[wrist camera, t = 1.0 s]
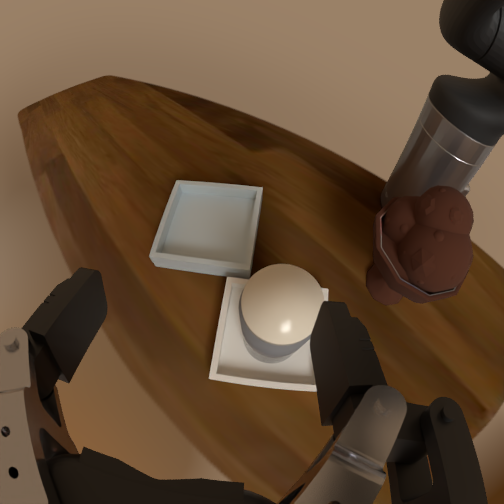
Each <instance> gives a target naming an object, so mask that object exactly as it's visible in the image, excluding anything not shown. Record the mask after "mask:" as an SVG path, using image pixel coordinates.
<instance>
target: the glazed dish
mask: <svg viewBox="0 0 504 504" xmlns="http://www.w3.org/2000/svg"><path fill="white" fill-rule="evenodd" d="M262 192H263V187H254V186H244V185H234V184H223V183H211V182H197V181H182V180H176V183H175V185H174V188H173V190H172V193H171V195H170V198H169V201H168V203H167V206H166V209H165V211H164V214H163V217H162V220H161V222H160V225H159V228H158V231H157V234H156V237H155V240H154V243H153V246H152V249H151V252H150V255H149V257H150V259H151V260H152V262H153V263H154V265H155V266H157V267H164V268H170V269H177V270H183V271H190V272H197V273H204V274H211V275H218V276H226V277H234V278H242V279H250V276H251V269H252V263H253V256H254V250H255V243H256V237H257V230H258V224H259V217H260V210H261V204H262Z"/></svg>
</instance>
